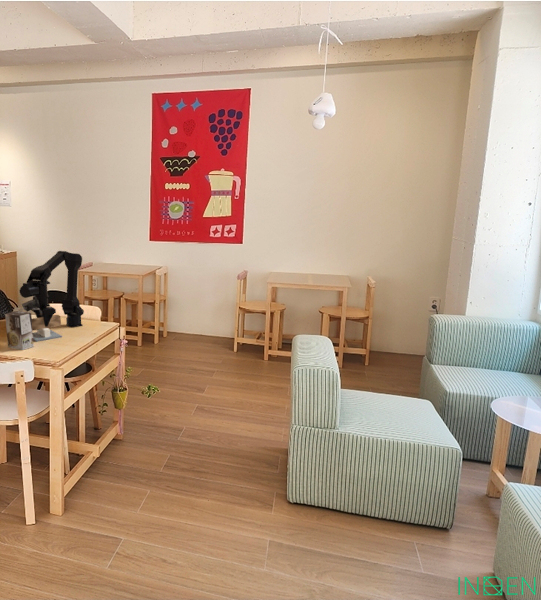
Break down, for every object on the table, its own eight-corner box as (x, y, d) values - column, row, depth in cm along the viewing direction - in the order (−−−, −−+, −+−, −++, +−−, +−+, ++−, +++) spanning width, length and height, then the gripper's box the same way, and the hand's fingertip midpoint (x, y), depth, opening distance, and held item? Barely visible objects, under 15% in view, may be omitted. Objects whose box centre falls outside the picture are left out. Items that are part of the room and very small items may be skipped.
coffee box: (34, 346, 204) (32, 312, 201) (22, 350, 198) (20, 315, 195) (19, 343, 207) (16, 310, 204) (7, 347, 201) (4, 313, 198)
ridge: (50, 331, 229) (50, 323, 228) (61, 337, 219) (61, 328, 219) (25, 335, 220) (25, 326, 219) (36, 341, 211) (35, 332, 210)
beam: (57, 324, 226) (57, 314, 225) (61, 325, 224) (60, 316, 223) (24, 329, 214) (24, 319, 213) (28, 331, 212) (27, 321, 211)
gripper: (16, 293, 216) (18, 323, 219) (30, 299, 204) (32, 331, 207) (40, 290, 224) (42, 320, 227) (55, 296, 212) (57, 327, 215)
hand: (43, 324), depth 219 cm, fingers open, 8 cm apart
